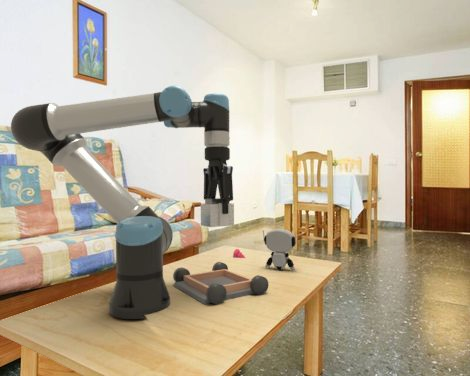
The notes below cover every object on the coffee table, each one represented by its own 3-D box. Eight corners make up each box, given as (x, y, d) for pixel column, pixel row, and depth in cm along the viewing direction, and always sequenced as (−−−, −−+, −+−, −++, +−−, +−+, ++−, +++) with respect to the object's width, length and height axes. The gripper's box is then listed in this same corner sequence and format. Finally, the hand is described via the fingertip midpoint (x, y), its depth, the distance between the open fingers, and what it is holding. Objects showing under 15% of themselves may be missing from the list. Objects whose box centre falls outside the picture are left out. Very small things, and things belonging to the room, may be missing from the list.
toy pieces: (227, 262, 140) (227, 251, 140) (236, 257, 151) (236, 247, 151) (256, 264, 137) (256, 253, 137) (263, 258, 147) (263, 248, 147)
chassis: (208, 306, 88) (208, 286, 88) (171, 284, 108) (171, 268, 108) (269, 292, 99) (269, 275, 99) (226, 275, 119) (226, 260, 119)
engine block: (210, 227, 99) (210, 199, 99) (200, 225, 104) (200, 198, 104) (234, 225, 103) (233, 198, 103) (223, 223, 108) (223, 198, 108)
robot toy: (298, 270, 125) (298, 228, 125) (295, 273, 121) (294, 230, 121) (266, 267, 131) (266, 227, 131) (262, 270, 127) (262, 228, 126)
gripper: (245, 144, 98) (246, 226, 98) (212, 150, 114) (213, 221, 114) (222, 142, 94) (223, 228, 94) (191, 149, 110) (192, 222, 110)
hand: (218, 224), depth 104 cm, fingers closed on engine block, 6 cm apart
